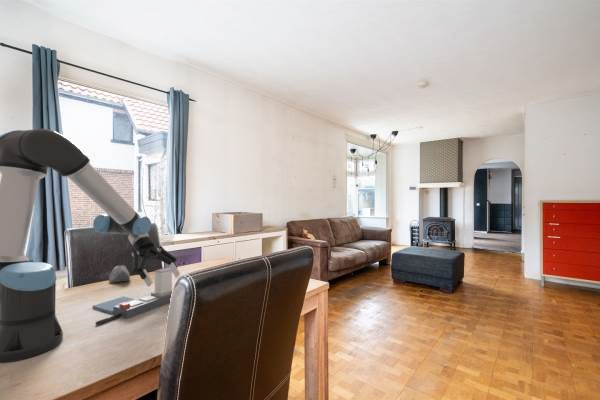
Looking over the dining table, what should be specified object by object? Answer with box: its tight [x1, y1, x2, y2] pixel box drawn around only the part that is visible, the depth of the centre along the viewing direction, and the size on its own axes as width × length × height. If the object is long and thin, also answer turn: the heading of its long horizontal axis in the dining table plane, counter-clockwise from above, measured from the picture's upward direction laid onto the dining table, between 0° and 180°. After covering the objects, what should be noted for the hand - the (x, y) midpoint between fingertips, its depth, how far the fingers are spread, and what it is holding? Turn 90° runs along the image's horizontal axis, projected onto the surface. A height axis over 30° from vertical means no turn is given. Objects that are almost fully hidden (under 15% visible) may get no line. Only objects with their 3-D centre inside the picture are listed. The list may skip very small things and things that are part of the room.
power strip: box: [95, 288, 173, 326], centre depth 111 cm, size 32×8×4 cm, turn 154°
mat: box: [92, 296, 136, 315], centre depth 114 cm, size 12×12×1 cm
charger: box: [154, 267, 173, 294], centre depth 120 cm, size 5×4×10 cm
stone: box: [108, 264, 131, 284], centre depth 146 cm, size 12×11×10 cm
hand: (165, 280), depth 120 cm, fingers open, 13 cm apart
